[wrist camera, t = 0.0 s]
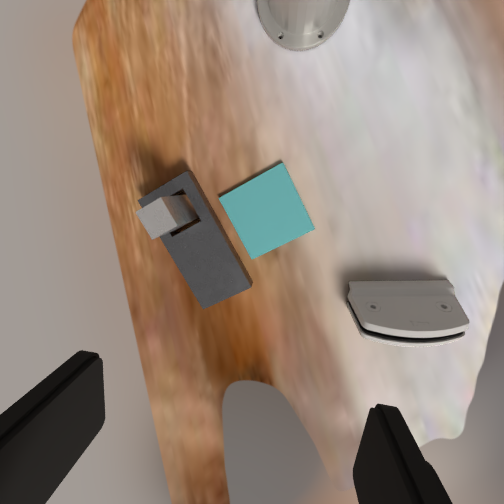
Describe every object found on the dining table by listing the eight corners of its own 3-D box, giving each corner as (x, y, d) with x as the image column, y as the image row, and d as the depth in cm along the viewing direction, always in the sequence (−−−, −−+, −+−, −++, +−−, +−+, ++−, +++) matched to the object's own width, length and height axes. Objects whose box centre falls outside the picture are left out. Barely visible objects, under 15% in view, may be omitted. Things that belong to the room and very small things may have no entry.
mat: (219, 197, 44) (218, 198, 44) (282, 162, 42) (282, 162, 41) (252, 258, 46) (251, 259, 46) (314, 228, 44) (315, 229, 43)
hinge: (450, 279, 43) (490, 327, 35) (442, 300, 46) (477, 349, 38) (346, 281, 46) (361, 326, 37) (344, 300, 48) (357, 347, 40)
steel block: (166, 206, 46) (135, 212, 36) (186, 194, 45) (160, 197, 35) (179, 228, 47) (152, 239, 37) (199, 217, 46) (177, 225, 36)
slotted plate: (145, 199, 46) (137, 200, 44) (192, 171, 44) (186, 170, 41) (207, 303, 50) (203, 309, 47) (252, 282, 48) (251, 287, 45)
